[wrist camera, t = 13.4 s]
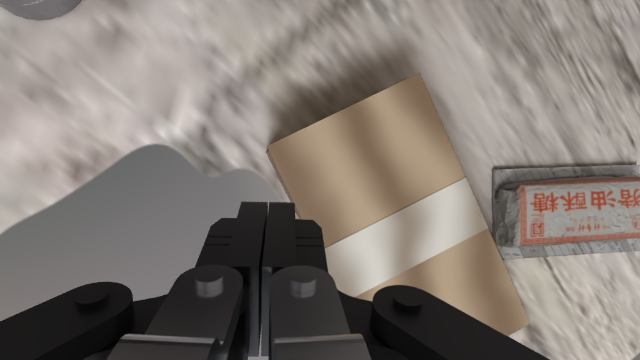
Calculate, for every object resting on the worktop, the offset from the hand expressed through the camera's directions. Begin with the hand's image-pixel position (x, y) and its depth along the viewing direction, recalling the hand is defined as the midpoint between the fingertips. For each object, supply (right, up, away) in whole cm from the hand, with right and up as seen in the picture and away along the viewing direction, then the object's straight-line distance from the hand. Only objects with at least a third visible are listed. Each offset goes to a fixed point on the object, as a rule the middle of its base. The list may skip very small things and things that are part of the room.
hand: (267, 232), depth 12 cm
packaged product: (+29, -2, +38) cm, 48 cm away
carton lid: (+9, -4, +26) cm, 28 cm away
